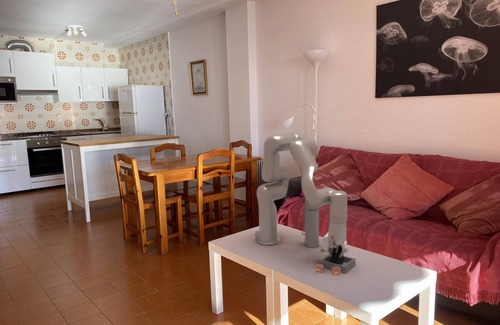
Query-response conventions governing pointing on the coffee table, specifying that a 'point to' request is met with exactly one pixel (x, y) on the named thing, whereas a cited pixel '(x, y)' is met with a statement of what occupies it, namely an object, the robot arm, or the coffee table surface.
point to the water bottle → (311, 224)
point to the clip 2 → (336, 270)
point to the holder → (344, 267)
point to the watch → (341, 259)
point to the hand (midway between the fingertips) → (337, 257)
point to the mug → (325, 242)
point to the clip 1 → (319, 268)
